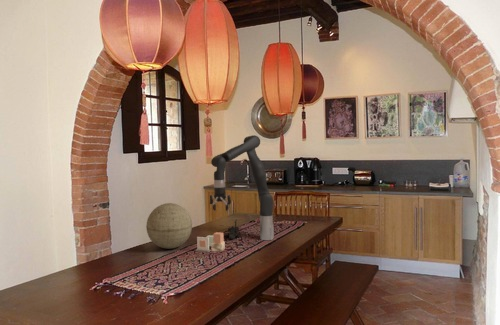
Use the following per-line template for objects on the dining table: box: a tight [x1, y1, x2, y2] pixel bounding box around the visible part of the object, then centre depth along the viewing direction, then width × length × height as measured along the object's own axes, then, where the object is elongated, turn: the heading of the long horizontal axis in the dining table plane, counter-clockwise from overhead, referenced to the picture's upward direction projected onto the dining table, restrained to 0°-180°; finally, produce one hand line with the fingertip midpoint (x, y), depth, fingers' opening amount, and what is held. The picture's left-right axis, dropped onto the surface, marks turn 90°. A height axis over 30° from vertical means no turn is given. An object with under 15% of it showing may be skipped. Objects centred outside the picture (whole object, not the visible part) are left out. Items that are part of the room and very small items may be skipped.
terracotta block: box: [212, 231, 225, 244], centre depth 265 cm, size 5×5×6 cm
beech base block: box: [210, 241, 226, 252], centre depth 265 cm, size 7×7×5 cm
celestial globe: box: [145, 202, 193, 250], centre depth 271 cm, size 30×30×30 cm
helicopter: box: [217, 220, 247, 240], centre depth 304 cm, size 23×34×15 cm
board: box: [195, 236, 212, 253], centre depth 262 cm, size 9×3×9 cm, turn 71°
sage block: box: [206, 234, 213, 247], centre depth 278 cm, size 5×5×6 cm
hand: (220, 210), depth 272 cm, fingers open, 8 cm apart
